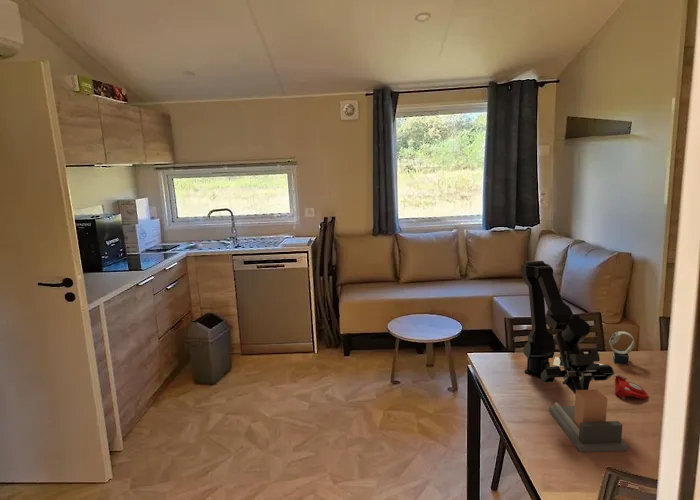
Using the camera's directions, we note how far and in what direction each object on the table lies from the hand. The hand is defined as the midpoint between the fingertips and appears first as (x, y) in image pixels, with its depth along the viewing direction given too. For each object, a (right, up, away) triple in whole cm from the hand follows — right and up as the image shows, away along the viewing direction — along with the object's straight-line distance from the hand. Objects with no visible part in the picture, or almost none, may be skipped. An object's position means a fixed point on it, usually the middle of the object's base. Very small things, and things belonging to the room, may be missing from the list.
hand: (585, 403), depth 133 cm
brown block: (0, -6, -2) cm, 6 cm away
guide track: (0, -7, +1) cm, 7 cm away
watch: (+33, +2, +41) cm, 53 cm away
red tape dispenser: (+24, -3, +20) cm, 31 cm away
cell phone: (+17, +1, +40) cm, 43 cm away
